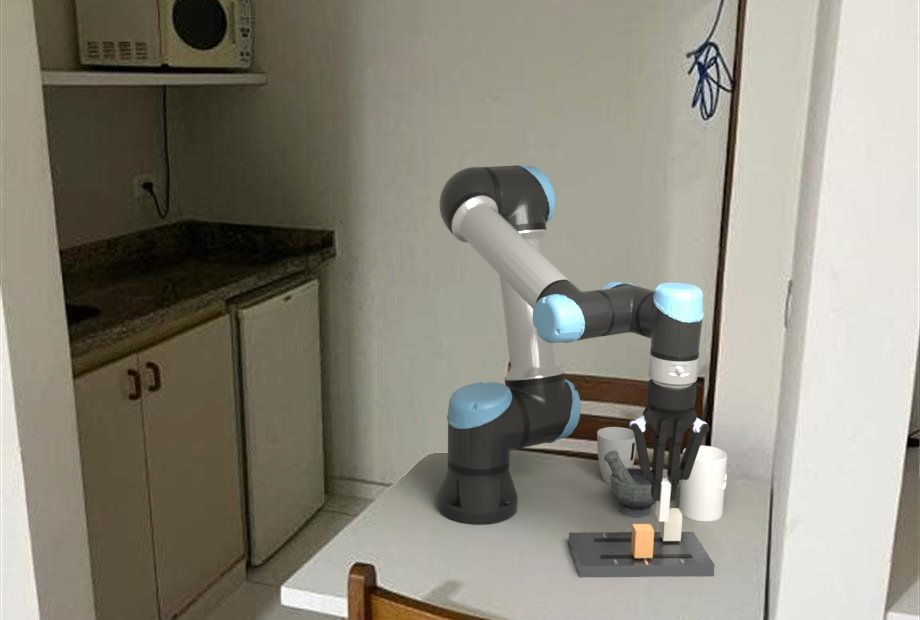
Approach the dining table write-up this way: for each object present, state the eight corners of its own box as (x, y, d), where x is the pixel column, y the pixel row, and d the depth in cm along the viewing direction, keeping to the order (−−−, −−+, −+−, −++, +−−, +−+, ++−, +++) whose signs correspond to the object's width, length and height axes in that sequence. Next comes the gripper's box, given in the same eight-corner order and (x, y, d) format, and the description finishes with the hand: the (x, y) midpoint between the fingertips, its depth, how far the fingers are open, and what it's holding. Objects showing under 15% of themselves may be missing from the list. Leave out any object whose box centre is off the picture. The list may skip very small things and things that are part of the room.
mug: (706, 494, 182) (710, 437, 180) (730, 521, 171) (735, 460, 168) (666, 496, 181) (669, 438, 179) (687, 522, 170) (692, 461, 167)
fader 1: (634, 558, 151) (636, 531, 150) (630, 550, 154) (632, 524, 153) (652, 558, 151) (654, 530, 150) (648, 550, 154) (650, 523, 153)
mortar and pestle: (654, 500, 179) (658, 442, 177) (666, 521, 170) (670, 460, 168) (597, 500, 179) (599, 442, 176) (606, 522, 170) (609, 460, 167)
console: (579, 577, 150) (580, 565, 149) (568, 543, 161) (568, 532, 161) (713, 575, 151) (714, 564, 150) (692, 542, 162) (693, 531, 162)
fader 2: (663, 541, 157) (665, 514, 156) (659, 534, 160) (661, 508, 159) (680, 540, 157) (682, 514, 156) (676, 534, 160) (678, 508, 159)
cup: (634, 489, 185) (637, 442, 182) (593, 485, 186) (596, 438, 184) (635, 473, 192) (637, 428, 190) (596, 470, 194) (598, 425, 192)
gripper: (637, 388, 142) (627, 528, 148) (720, 388, 143) (707, 528, 148) (626, 373, 150) (617, 507, 155) (705, 374, 150) (694, 507, 156)
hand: (661, 517), depth 152 cm, fingers closed
